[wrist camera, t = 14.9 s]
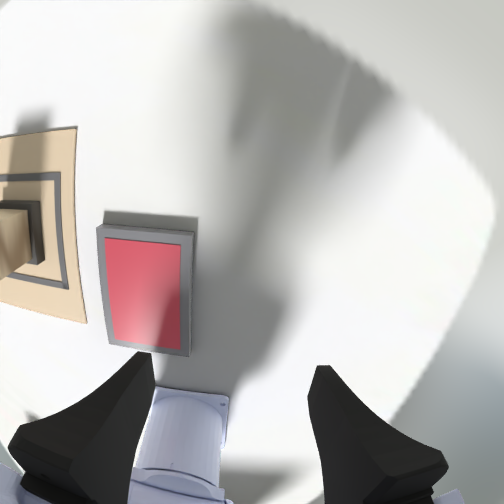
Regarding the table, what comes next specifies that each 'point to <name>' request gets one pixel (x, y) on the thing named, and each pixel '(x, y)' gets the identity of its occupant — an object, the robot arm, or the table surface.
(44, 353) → the table surface
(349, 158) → the table surface
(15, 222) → the stamp
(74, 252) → the cardboard sheet
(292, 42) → the table surface
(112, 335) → the ink pad
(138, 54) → the table surface
